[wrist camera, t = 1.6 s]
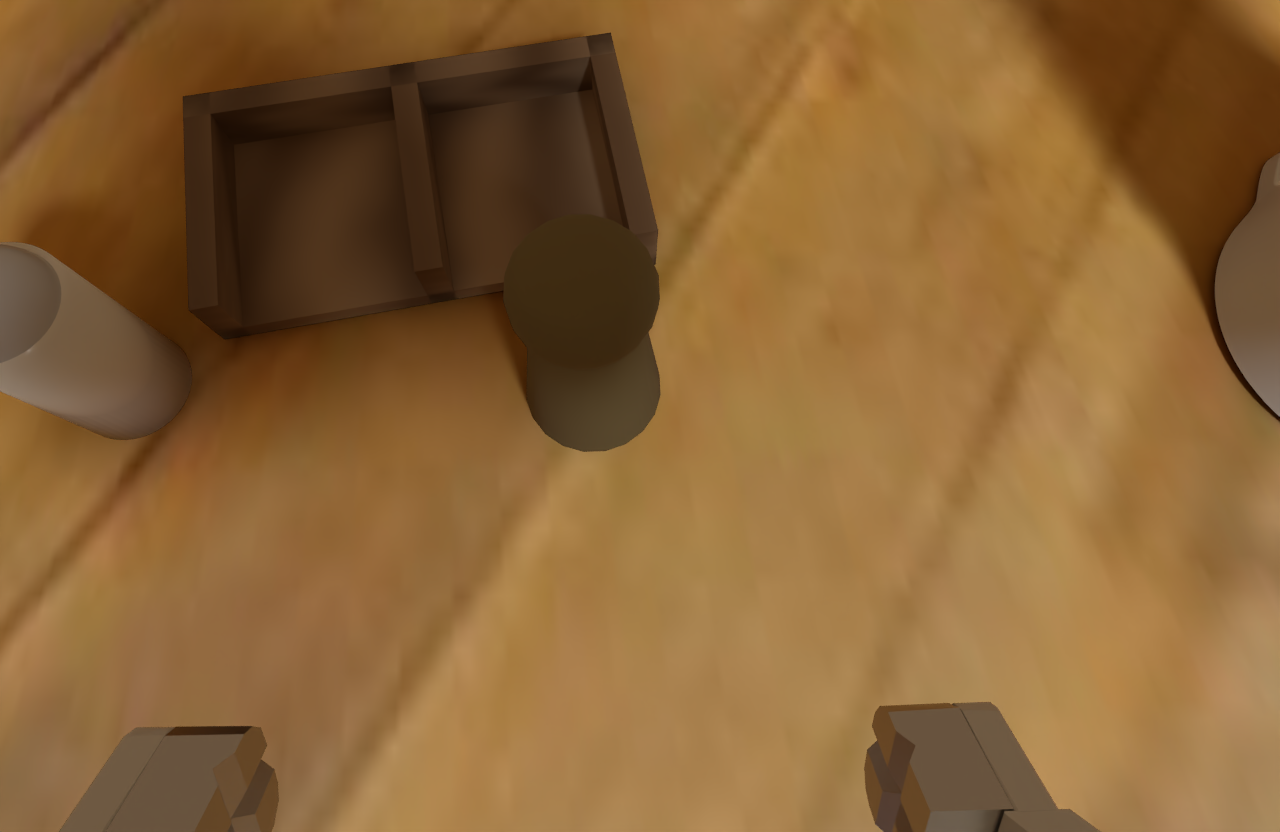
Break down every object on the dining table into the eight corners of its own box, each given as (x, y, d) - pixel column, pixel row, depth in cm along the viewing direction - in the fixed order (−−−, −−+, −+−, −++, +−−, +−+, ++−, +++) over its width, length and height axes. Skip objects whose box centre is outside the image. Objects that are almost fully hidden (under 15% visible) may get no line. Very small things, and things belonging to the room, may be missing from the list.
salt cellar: (190, 325, 35) (31, 201, 26) (193, 428, 34) (25, 336, 24) (76, 344, 35) (-128, 225, 25) (74, 449, 33) (-144, 364, 24)
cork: (537, 318, 35) (500, 173, 25) (667, 333, 35) (684, 194, 25) (515, 443, 34) (464, 343, 23) (652, 459, 33) (664, 367, 23)
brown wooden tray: (611, 78, 40) (610, 32, 37) (655, 264, 36) (658, 230, 34) (215, 138, 38) (182, 96, 35) (224, 339, 35) (188, 310, 32)
